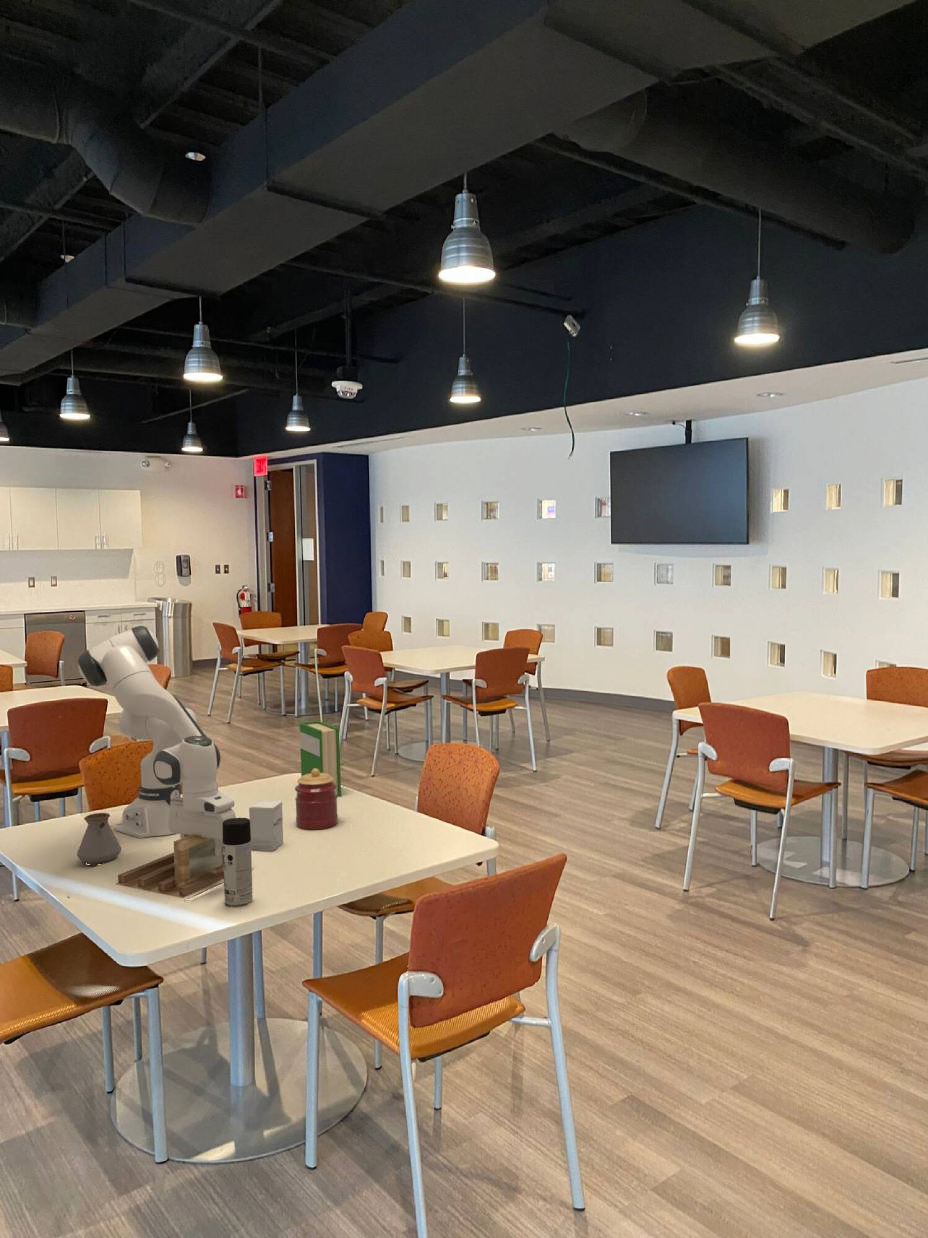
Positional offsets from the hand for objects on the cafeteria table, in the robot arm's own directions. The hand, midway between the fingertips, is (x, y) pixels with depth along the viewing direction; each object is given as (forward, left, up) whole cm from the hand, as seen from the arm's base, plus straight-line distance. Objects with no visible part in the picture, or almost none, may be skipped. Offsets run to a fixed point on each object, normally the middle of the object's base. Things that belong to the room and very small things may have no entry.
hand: (202, 852), depth 235 cm
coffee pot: (-35, -2, -8) cm, 36 cm away
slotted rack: (-7, 0, -8) cm, 11 cm away
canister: (-4, +54, -8) cm, 55 cm away
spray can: (+17, -6, -8) cm, 20 cm away
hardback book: (-26, +85, -8) cm, 89 cm away
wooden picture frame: (0, 0, -7) cm, 7 cm away
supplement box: (-4, +30, -8) cm, 31 cm away
